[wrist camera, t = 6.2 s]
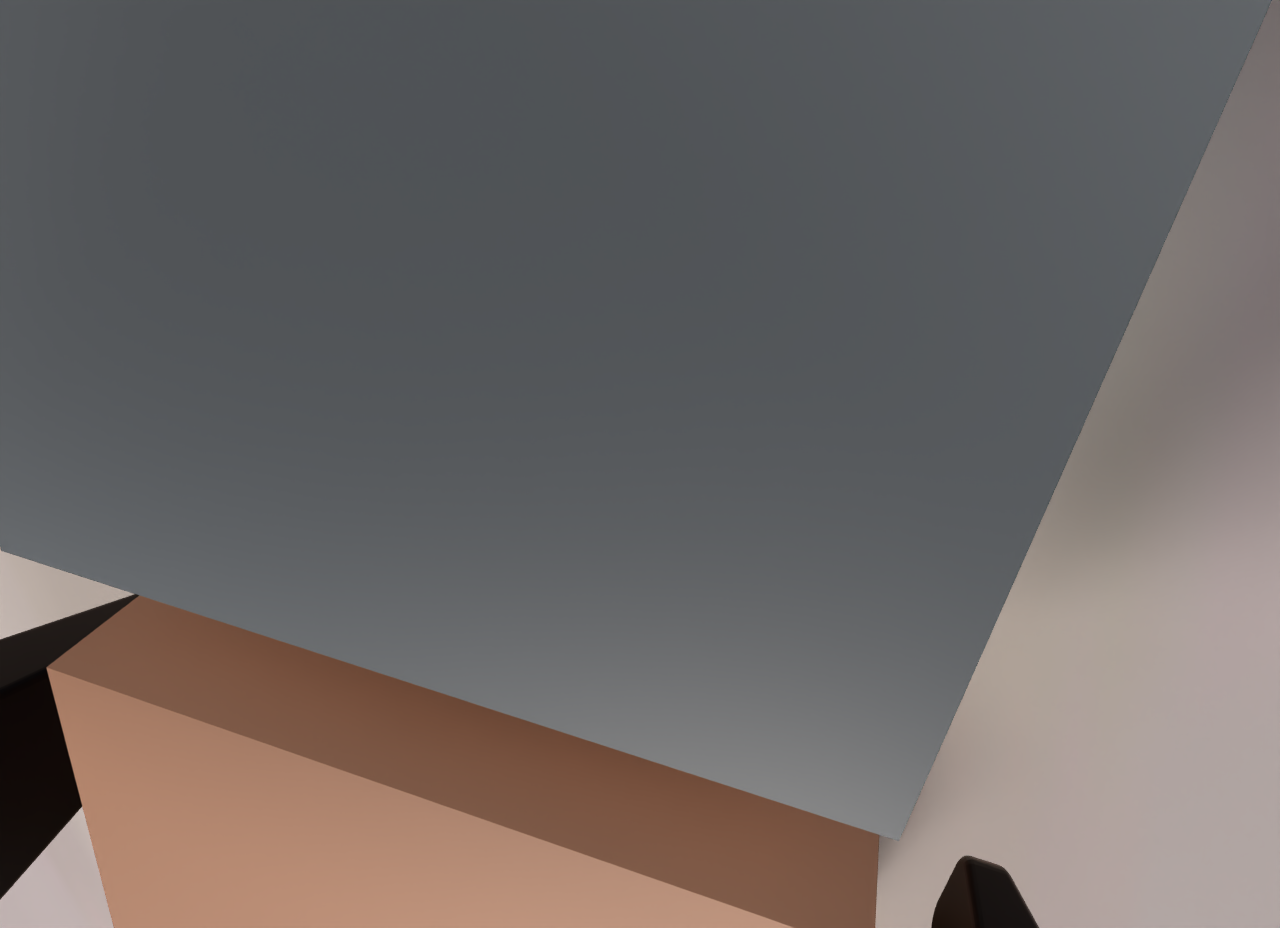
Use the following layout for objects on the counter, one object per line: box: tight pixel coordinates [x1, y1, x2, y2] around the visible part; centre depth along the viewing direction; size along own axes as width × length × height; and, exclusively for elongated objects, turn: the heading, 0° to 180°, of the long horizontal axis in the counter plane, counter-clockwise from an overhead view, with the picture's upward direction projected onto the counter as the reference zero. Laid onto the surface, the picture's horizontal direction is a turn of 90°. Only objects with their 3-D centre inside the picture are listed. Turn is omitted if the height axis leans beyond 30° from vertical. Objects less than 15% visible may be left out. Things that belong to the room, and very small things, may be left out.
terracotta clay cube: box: [46, 595, 879, 928], centre depth 10 cm, size 6×5×6 cm
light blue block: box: [0, 0, 1272, 841], centre depth 7 cm, size 6×5×6 cm
